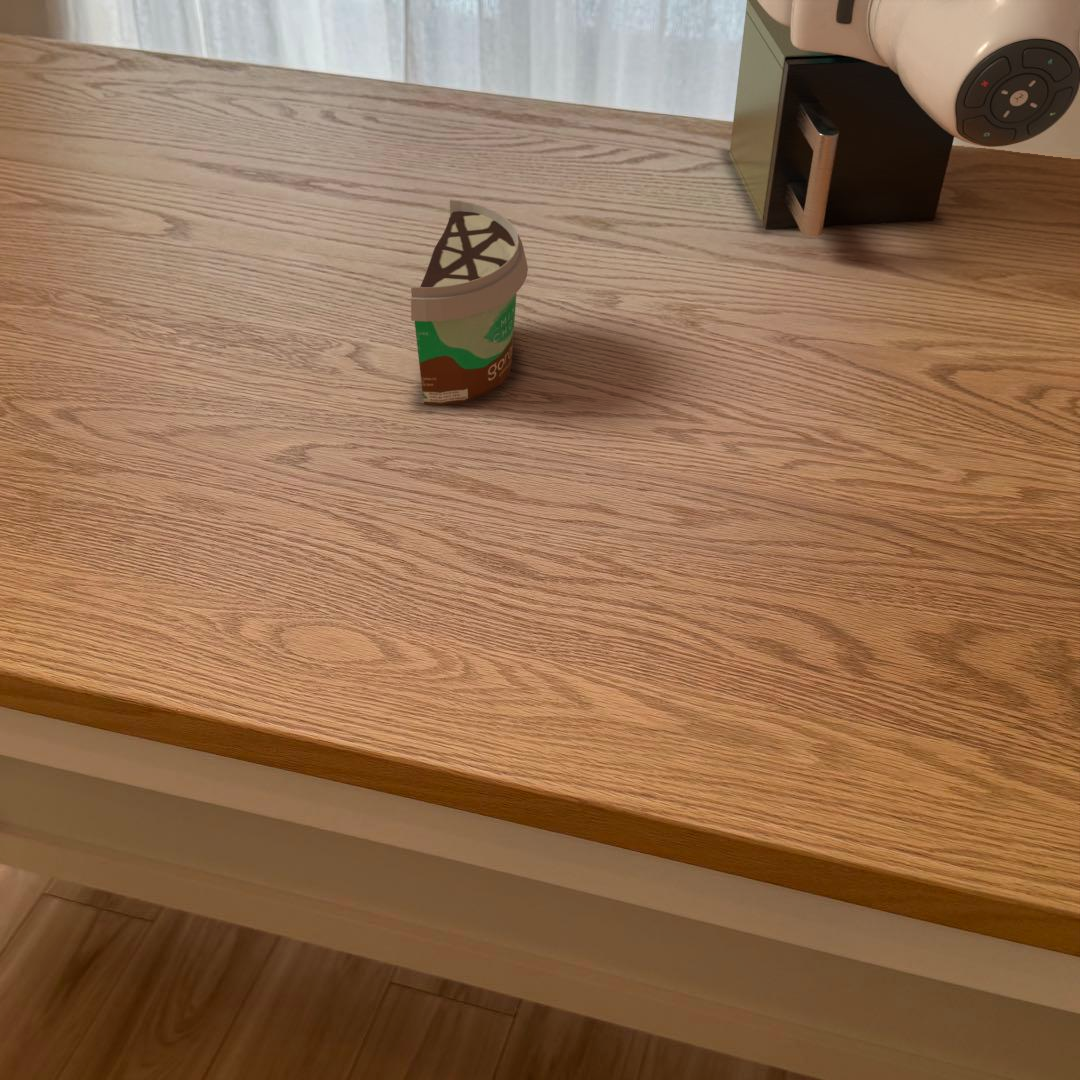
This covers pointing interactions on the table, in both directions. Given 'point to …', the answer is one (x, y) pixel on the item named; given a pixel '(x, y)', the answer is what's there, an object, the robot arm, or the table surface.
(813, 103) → the black cabinet door
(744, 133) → the olive green small cabinet
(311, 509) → the table surface
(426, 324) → the food container
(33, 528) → the table surface
